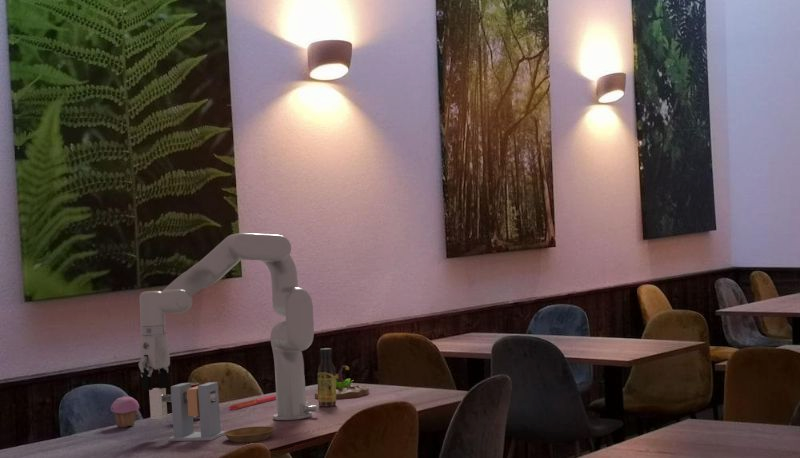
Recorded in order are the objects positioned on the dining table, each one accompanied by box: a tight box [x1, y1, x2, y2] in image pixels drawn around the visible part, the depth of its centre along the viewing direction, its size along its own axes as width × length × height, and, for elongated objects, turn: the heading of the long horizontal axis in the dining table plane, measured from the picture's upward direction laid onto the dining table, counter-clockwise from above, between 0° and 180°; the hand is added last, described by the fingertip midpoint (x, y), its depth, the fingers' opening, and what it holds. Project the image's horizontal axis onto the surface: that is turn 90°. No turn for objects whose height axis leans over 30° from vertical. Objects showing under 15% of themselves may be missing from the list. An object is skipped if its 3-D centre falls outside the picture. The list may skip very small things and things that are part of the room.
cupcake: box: [110, 395, 140, 428], centre depth 357 cm, size 9×9×10 cm
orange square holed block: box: [187, 386, 200, 416], centre depth 327 cm, size 3×8×8 cm, turn 164°
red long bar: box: [228, 394, 277, 411], centre depth 390 cm, size 24×2×5 cm
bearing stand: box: [168, 381, 227, 442], centre depth 327 cm, size 14×10×16 cm
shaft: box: [148, 387, 216, 420], centre depth 328 cm, size 21×3×9 cm, turn 74°
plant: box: [314, 365, 370, 400], centre depth 400 cm, size 20×20×11 cm
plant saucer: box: [224, 425, 275, 443], centre depth 319 cm, size 15×15×3 cm
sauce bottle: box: [317, 347, 337, 408], centre depth 375 cm, size 7×6×20 cm
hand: (155, 387), depth 330 cm, fingers open, 9 cm apart
